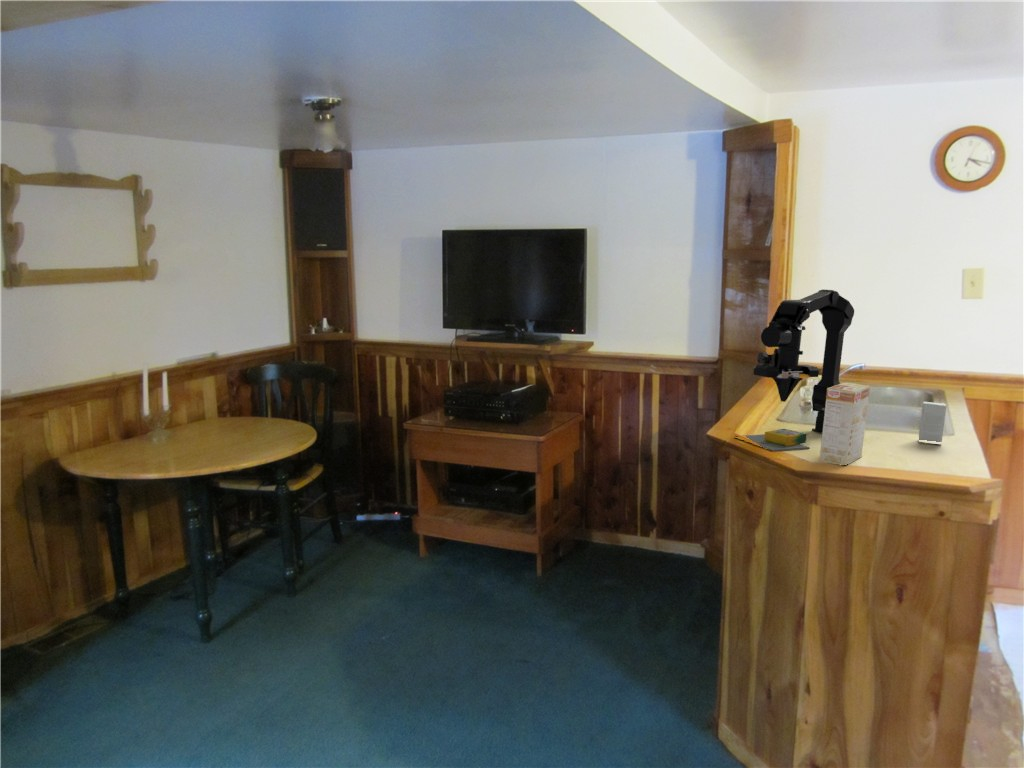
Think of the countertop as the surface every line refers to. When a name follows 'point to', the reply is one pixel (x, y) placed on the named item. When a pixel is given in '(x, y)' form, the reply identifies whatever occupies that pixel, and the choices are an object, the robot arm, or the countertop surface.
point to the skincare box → (932, 421)
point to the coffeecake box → (844, 423)
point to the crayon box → (784, 437)
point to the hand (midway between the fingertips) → (783, 401)
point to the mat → (760, 439)
